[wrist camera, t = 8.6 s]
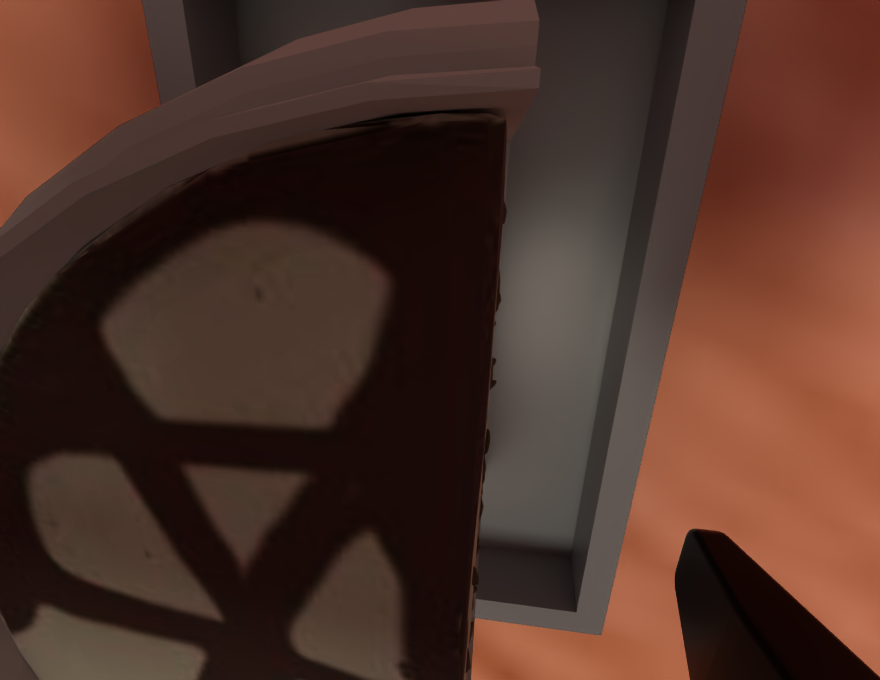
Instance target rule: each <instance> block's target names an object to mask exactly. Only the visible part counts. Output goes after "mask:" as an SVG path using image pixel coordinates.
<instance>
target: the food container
mask: <svg viewBox="0 0 880 680" xmlns="http://www.w3.org/2000/svg"><path fill="white" fill-rule="evenodd" d="M538 30H539V16H538V12H537V9H536V5H535V1H534V0H500V1H488V2H477V3H466V4H455V5H443V6H432V7H421V8H412V9H408V10H405V11H401V12H397V13H393V14H390V15H386V16H382V17H378V18H375V19H371V20H367V21H363V22H360V23H356V24H352V25H348V26H345V27H341V28H337V29H334V30H330V31H326V32H322V33H319V34H315V35H311V36H307V37H304V38H300V39H297V40H295V41H293V42H291V43H289V44H287V45H284V46H282V47H280V48H278V49H276V50H274V51H272V52H270V53H268V54H266V55H264V56H262V57H260V58H258V59H255V60H253V61H251V62H249V63H247V64H245V65H243V66H241V67H239V68H237V69H235V70H233V71H231V72H229V73H226V74H224V75H222V76H220V77H218V78H216V79H214V80H212V81H210V82H208V83H206V84H204V85H202V86H200V87H198V88H195V89H193V90H191V91H189V92H187V93H185V94H183V95H181V96H179V97H177V98H175V99H173V100H171V101H169V102H167V103H165V104H163V105H161V106H159V107H156V108H154V109H152V110H150V111H148V112H146V113H144V114H142V115H140V116H138V117H136V118H134V119H132V120H130V121H128V122H126V123H124V124H122V125H120V126H118V127H116V128H115V129H114V130H113V131H111V132H110V133H109V134H107V135H106V136H105V137H103V138H102V139H101V140H100V141H98V142H97V143H96V144H94V145H93V146H92V147H90V148H89V149H88V150H87V151H85V152H84V153H83V154H81V155H80V156H79V157H77V158H76V159H75V160H73V161H72V162H71V163H70V164H68V165H67V166H66V167H64V168H63V169H62V170H60V171H59V172H58V173H57V174H55V175H54V176H53V177H51V178H50V179H49V180H47V181H46V182H45V183H43V184H42V185H41V186H40V187H38V188H37V189H36V190H34V191H33V192H32V193H30V194H29V195H28V196H27V197H26V198H25V199H24V200H23V202H22V203H21V204H20V205H19V207H18V208H17V209H16V210H15V211H14V213H13V214H12V215H11V216H10V217H9V219H8V220H7V221H6V222H5V224H4V225H3V226H2V227H1V228H0V680H471V668H472V652H473V636H474V620H475V605H476V591H477V585H478V583H479V577H478V557H479V549H480V548H481V546H480V545H479V542H480V526H481V515H482V512H483V507H484V506H483V502H482V494H483V483H484V480H485V472H486V461H485V454H487V453H488V449H489V444H490V431H489V429H487V426H488V414H489V401H490V390H491V389H492V388H493V387H494V386H495V384H496V383H497V382H496V380H492V379H493V366H494V365H495V363H496V359H495V358H493V351H494V338H495V326H496V313H497V310H498V308H499V306H498V305H499V304H500V302H501V294H500V263H501V251H502V238H503V225H504V223H505V220H506V213H507V209H506V205H505V200H506V188H507V175H508V163H509V150H510V142H511V140H512V138H513V136H514V134H515V132H516V130H517V129H518V127H519V125H520V123H521V121H522V119H523V117H524V115H525V114H526V112H527V110H528V108H529V106H530V104H531V102H532V101H533V99H534V97H535V95H536V93H537V91H538V89H539V84H540V73H541V68H539V67H536V66H535V62H536V52H537V41H538Z"/></svg>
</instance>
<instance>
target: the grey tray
mask: <svg viewBox="0 0 880 680" xmlns="http://www.w3.org/2000/svg"><path fill="white" fill-rule="evenodd" d="M488 1H500V0H142V4H143V9H144V15H145V20H146V26H147V31H148V37H149V42H150V48H151V53H152V58H153V64H154V69H155V75H156V80H157V86H158V91H159V97H160V102H161V105H163V104H165V103H167V102H169V101H171V100H173V99H175V98H177V97H179V96H181V95H183V94H185V93H187V92H189V91H191V90H193V89H195V88H198V87H200V86H202V85H204V84H206V83H208V82H210V81H212V80H214V79H216V78H218V77H220V76H222V75H224V74H226V73H229V72H231V71H233V70H235V69H237V68H239V67H241V66H243V65H245V64H247V63H249V62H251V61H253V60H255V59H258V58H260V57H262V56H264V55H266V54H268V53H270V52H272V51H274V50H276V49H278V48H280V47H282V46H284V45H287V44H289V43H291V42H293V41H295V40H297V39H300V38H304V37H307V36H311V35H315V34H319V33H322V32H326V31H330V30H334V29H337V28H341V27H345V26H348V25H352V24H356V23H360V22H363V21H367V20H371V19H375V18H378V17H382V16H386V15H390V14H393V13H397V12H401V11H405V10H408V9H412V8H421V7H432V6H443V5H455V4H466V3H477V2H488ZM534 1H535V5H536V9H537V12H538V16H539V30H538V41H537V52H536V62H535V66H536V67H539V68H541V73H540V84H539V89H538V91H537V93H536V95H535V97H534V99H533V101H532V102H531V104H530V106H529V108H528V110H527V112H526V114H525V115H524V117H523V119H522V121H521V123H520V125H519V127H518V129H517V130H516V132H515V134H514V136H513V138H512V140H511V142H510V150H509V163H508V175H507V188H506V200H505V205H506V209H507V213H506V220H505V223H504V225H503V238H502V251H501V263H500V294H501V302H500V304H499V305H498V306H499V308H498V310H497V313H496V326H495V338H494V351H493V358H495V359H496V363H495V365H494V366H493V379H492V380H496V382H497V383H496V384H495V386H494V387H493V388H492V389H491V390H490V401H489V414H488V426H487V429H489V431H490V444H489V449H488V453H487V454H485V461H486V472H485V480H484V483H483V494H482V502H483V506H484V507H483V512H482V515H481V526H480V542H479V545H480V546H481V548H480V549H479V557H478V577H479V583H478V585H477V591H476V605H475V618H479V619H486V620H493V621H500V622H508V623H515V624H522V625H529V626H536V627H543V628H551V629H558V630H565V631H572V632H579V633H586V634H594V635H601V634H602V630H603V626H604V621H605V617H606V613H607V608H608V604H609V599H610V595H611V591H612V586H613V582H614V578H615V573H616V569H617V565H618V560H619V556H620V552H621V547H622V543H623V539H624V534H625V530H626V525H627V521H628V517H629V512H630V508H631V504H632V499H633V495H634V491H635V486H636V482H637V478H638V473H639V469H640V465H641V460H642V456H643V451H644V447H645V443H646V438H647V434H648V430H649V425H650V421H651V417H652V412H653V408H654V404H655V399H656V395H657V391H658V386H659V382H660V377H661V373H662V369H663V364H664V360H665V356H666V351H667V347H668V343H669V338H670V334H671V330H672V325H673V321H674V317H675V312H676V308H677V303H678V299H679V295H680V290H681V286H682V282H683V277H684V273H685V269H686V264H687V260H688V256H689V251H690V247H691V243H692V238H693V234H694V229H695V225H696V221H697V216H698V212H699V208H700V203H701V199H702V195H703V190H704V186H705V182H706V177H707V173H708V169H709V164H710V160H711V155H712V151H713V147H714V142H715V138H716V134H717V129H718V125H719V121H720V116H721V112H722V108H723V103H724V99H725V95H726V90H727V86H728V81H729V77H730V73H731V68H732V64H733V60H734V55H735V51H736V47H737V42H738V38H739V34H740V29H741V25H742V21H743V16H744V12H745V7H746V3H747V0H534Z"/></svg>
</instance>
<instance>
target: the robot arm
mask: <svg viewBox="0 0 880 680" xmlns="http://www.w3.org/2000/svg"><path fill="white" fill-rule="evenodd" d="M675 591H676V597H677V603H678V609H679V615H680V621H681V627H682V634H683V640H684V646H685V652H686V658H687V664H688V670H689V676H690V680H880V677H879V676H878V675H877V674H876V673H875V672H874V671H873V670H872V669H870V668H869V667H868V666H867V665H866V664H865V663H864V662H863V661H862V660H861V659H860V658H859V657H857V656H856V655H855V654H854V653H853V652H852V651H851V650H850V649H849V648H848V647H847V646H846V645H845V644H843V643H842V642H841V641H840V640H839V639H838V638H837V637H836V636H835V635H834V634H833V633H832V632H831V631H829V630H828V629H827V628H826V627H825V626H824V625H823V624H822V623H821V622H820V621H819V620H818V619H816V618H815V617H814V616H813V615H812V614H811V613H810V612H809V611H808V610H807V609H806V608H805V607H804V606H802V605H801V604H800V603H799V602H798V601H797V600H796V599H795V598H794V597H793V596H792V595H791V594H789V593H788V592H787V591H786V590H785V589H784V588H783V587H782V586H781V585H780V584H779V583H778V582H777V581H775V580H774V579H773V578H772V577H771V576H770V575H769V574H768V573H767V572H766V571H765V570H764V569H763V568H761V567H760V566H759V565H758V564H757V563H756V562H755V561H754V560H753V559H752V558H751V557H750V556H748V555H747V554H746V553H745V552H744V551H743V550H742V549H741V548H740V547H739V546H738V545H737V544H736V543H734V542H733V541H732V540H731V539H730V538H729V537H728V536H727V535H725V534H724V533H722V532H719V531H712V530H704V529H691V530H690V531H689V532H688V533H687V535H686V538H685V541H684V545H683V548H682V551H681V555H680V558H679V561H678V565H677V568H676V572H675Z"/></svg>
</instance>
